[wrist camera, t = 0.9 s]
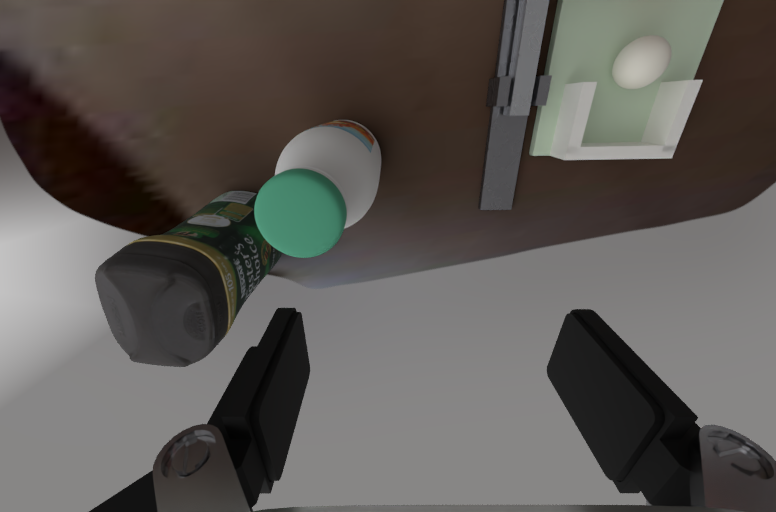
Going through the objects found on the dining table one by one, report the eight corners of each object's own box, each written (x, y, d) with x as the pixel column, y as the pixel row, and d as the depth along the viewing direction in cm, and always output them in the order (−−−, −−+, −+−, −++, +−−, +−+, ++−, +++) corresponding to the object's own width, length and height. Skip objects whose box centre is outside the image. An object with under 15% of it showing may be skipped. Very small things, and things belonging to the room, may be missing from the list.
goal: (565, 84, 29) (583, 82, 26) (673, 82, 29) (703, 79, 26) (549, 155, 32) (564, 160, 29) (647, 153, 32) (671, 158, 29)
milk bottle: (396, 156, 33) (406, 218, 15) (350, 205, 35) (312, 308, 17) (342, 101, 30) (277, 97, 12) (297, 158, 33) (189, 222, 15)
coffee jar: (287, 265, 39) (212, 384, 22) (224, 257, 38) (101, 373, 22) (286, 193, 35) (193, 274, 18) (216, 183, 34) (54, 257, 18)
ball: (609, 40, 27) (643, 30, 24) (653, 39, 27) (694, 29, 24) (596, 90, 29) (626, 88, 25) (638, 89, 29) (673, 87, 25)
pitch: (581, -128, 23) (589, -138, 22) (763, -133, 23) (778, -142, 22) (528, 154, 33) (532, 155, 32) (657, 152, 33) (664, 153, 32)
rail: (515, -146, 23) (534, -182, 20) (576, -148, 23) (603, -184, 20) (474, 207, 35) (481, 217, 33) (512, 207, 35) (523, 216, 33)
